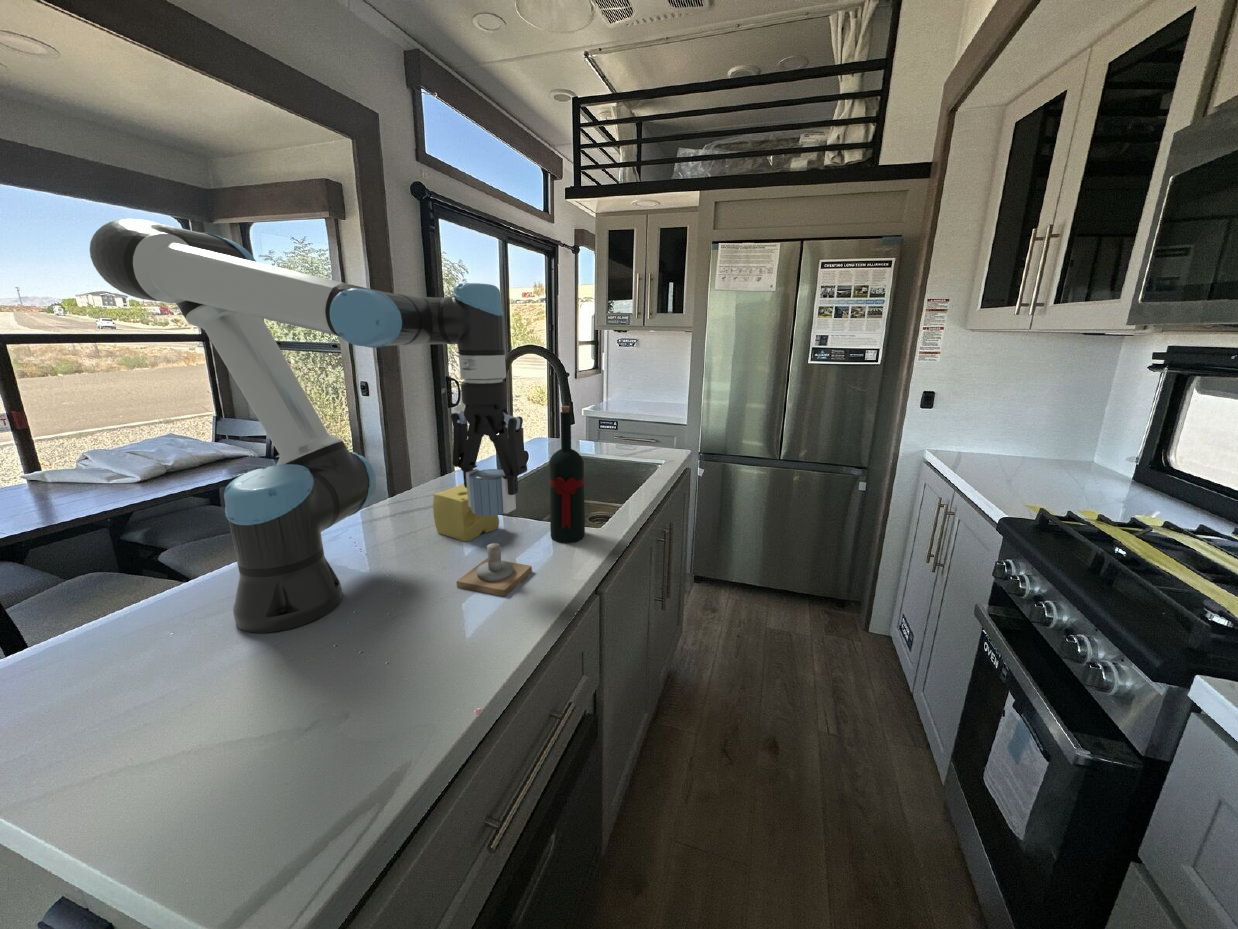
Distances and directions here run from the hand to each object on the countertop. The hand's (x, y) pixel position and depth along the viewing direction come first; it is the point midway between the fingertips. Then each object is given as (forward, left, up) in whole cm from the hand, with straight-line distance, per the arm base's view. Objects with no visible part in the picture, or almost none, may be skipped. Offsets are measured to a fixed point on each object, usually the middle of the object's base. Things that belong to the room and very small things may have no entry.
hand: (491, 507), depth 89 cm
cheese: (-19, +18, -15) cm, 30 cm away
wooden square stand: (0, 0, -14) cm, 14 cm away
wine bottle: (+5, +22, -15) cm, 27 cm away
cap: (0, 0, 0) cm, 0 cm away
